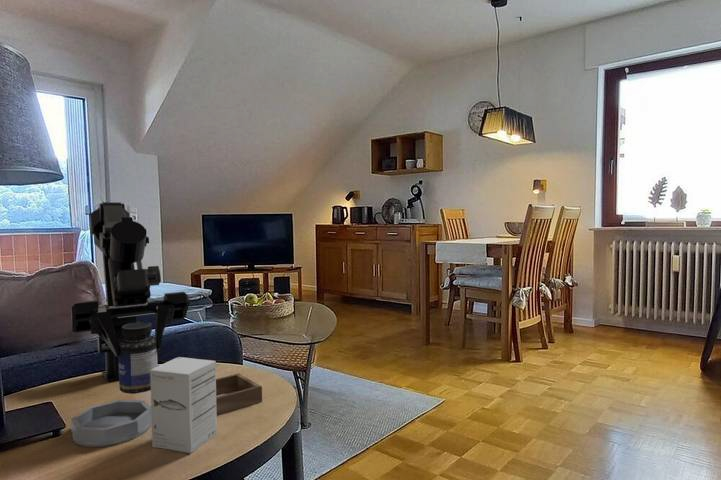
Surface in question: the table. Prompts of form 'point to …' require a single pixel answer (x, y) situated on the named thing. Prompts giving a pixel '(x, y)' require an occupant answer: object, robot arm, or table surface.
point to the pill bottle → (136, 357)
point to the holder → (236, 393)
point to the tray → (111, 423)
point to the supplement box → (183, 404)
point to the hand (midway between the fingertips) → (138, 352)
